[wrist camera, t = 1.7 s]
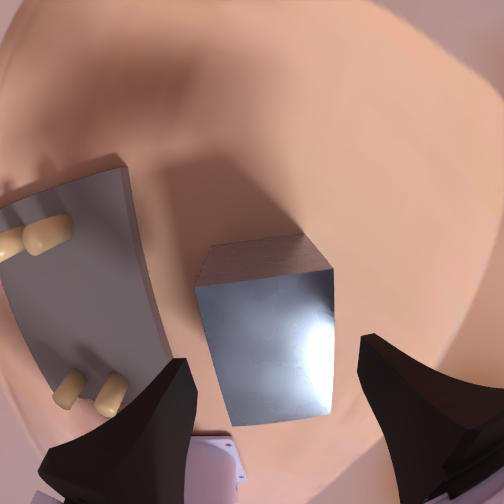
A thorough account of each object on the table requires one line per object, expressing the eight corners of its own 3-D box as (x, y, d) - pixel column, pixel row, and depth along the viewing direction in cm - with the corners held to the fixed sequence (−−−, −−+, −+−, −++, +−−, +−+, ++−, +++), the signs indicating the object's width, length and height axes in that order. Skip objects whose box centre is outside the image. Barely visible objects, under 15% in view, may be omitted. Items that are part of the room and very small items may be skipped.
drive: (311, 352, 17) (330, 413, 12) (235, 362, 17) (232, 426, 12) (304, 233, 15) (333, 268, 10) (212, 245, 15) (193, 286, 10)
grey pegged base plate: (187, 396, 18) (178, 437, 14) (58, 386, 18) (39, 413, 15) (127, 166, 14) (90, 168, 10) (-7, 212, 14) (-42, 224, 10)
